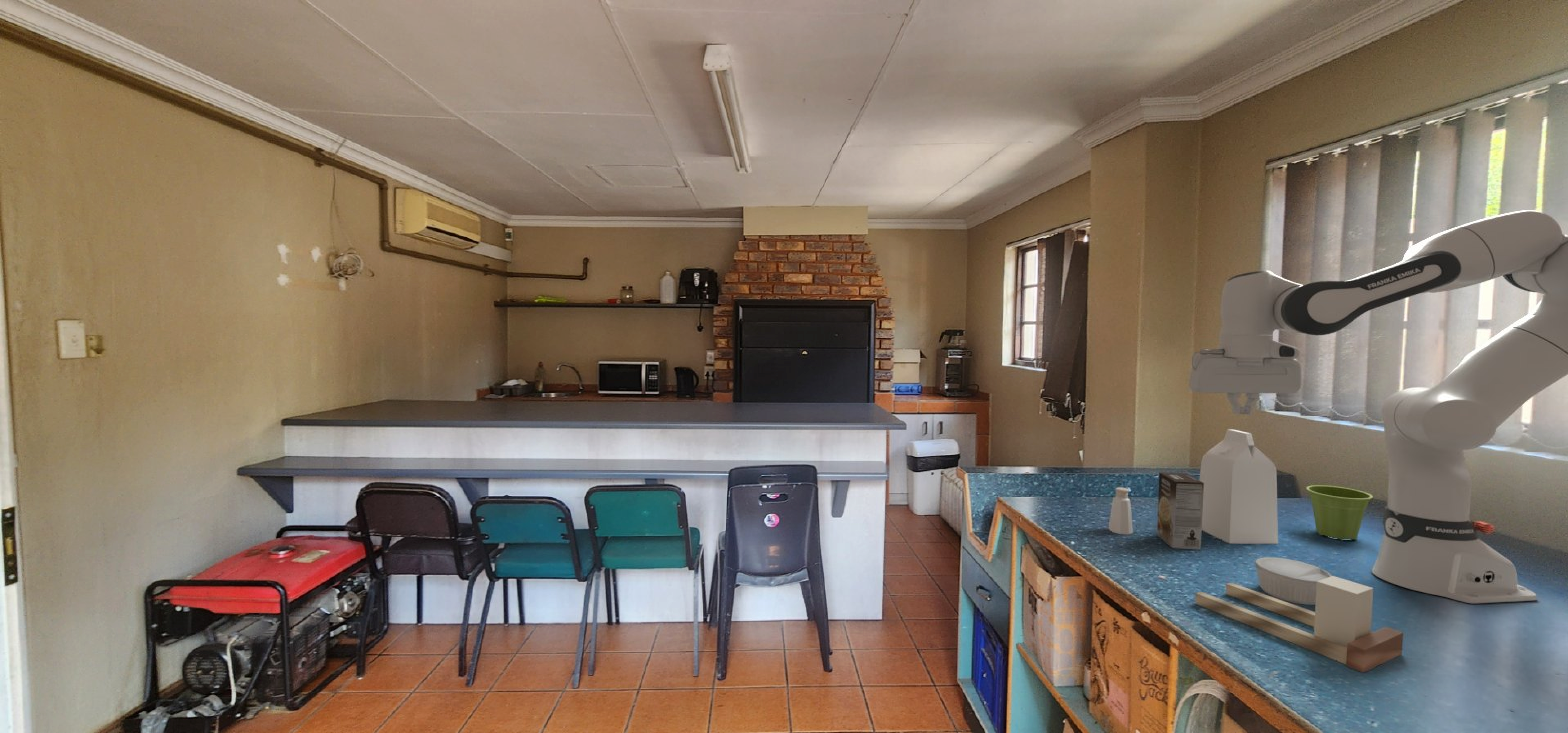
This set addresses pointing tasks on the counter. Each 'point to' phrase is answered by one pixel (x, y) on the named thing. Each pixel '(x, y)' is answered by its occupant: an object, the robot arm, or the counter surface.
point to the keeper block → (1342, 610)
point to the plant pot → (1338, 510)
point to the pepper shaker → (1121, 513)
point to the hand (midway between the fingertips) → (1242, 414)
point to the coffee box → (1180, 510)
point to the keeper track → (1355, 655)
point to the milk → (1239, 492)
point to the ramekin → (1289, 579)
